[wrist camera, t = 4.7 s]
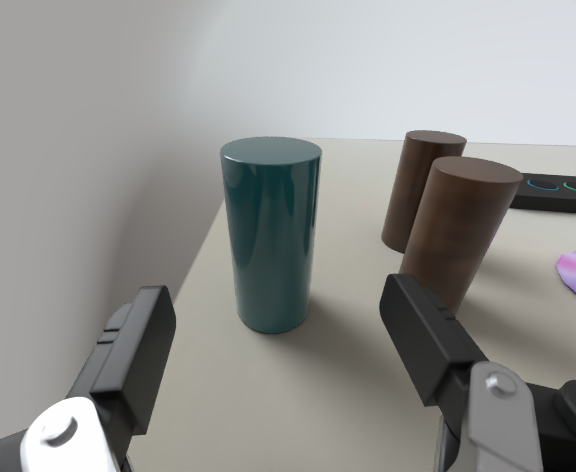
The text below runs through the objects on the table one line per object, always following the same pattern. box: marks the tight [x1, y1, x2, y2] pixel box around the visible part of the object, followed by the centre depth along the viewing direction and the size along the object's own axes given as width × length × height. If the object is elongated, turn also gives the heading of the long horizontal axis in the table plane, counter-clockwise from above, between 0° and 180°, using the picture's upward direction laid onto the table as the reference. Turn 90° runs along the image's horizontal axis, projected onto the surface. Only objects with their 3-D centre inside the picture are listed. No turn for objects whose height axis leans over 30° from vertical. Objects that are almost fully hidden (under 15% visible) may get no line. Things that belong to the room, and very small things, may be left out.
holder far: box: [381, 130, 467, 253], centre depth 22 cm, size 4×4×9 cm
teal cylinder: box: [220, 137, 322, 334], centre depth 15 cm, size 5×5×10 cm
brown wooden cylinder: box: [398, 156, 523, 315], centre depth 16 cm, size 4×4×9 cm
